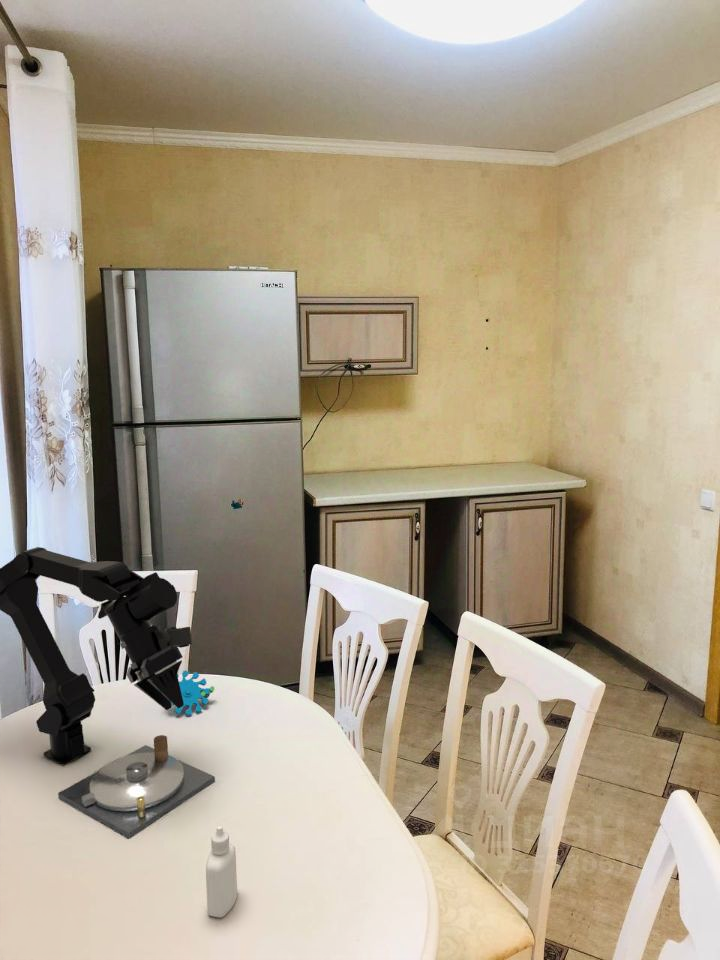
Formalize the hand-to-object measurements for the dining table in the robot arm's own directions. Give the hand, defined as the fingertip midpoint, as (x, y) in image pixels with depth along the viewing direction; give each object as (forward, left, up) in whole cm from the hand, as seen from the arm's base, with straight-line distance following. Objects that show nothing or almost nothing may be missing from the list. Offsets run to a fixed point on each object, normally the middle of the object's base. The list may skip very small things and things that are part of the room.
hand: (175, 707), depth 128 cm
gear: (-20, +21, -15) cm, 33 cm away
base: (-5, -5, -15) cm, 17 cm away
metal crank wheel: (-5, -6, -14) cm, 16 cm away
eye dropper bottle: (+27, -16, -15) cm, 35 cm away
